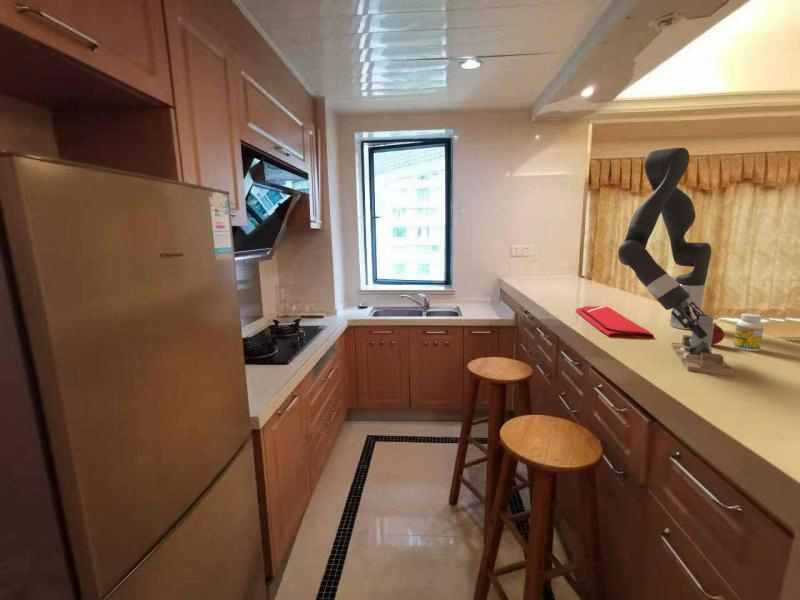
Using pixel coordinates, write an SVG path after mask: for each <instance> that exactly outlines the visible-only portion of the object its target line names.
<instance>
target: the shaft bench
mask: <svg viewBox="0 0 800 600" xmlns="http://www.w3.org/2000/svg"><path fill="white" fill-rule="evenodd" d="M691 337H692V335H691V334H690V335H688V334H682V341H681V342H671V343H670V344H671V345H670V346H671V347H672V350H673V351H674V352H675V354H676V355H677V357H678V358H679V359H680V361H681V362H682V364H683V366H684V367H685V368H686V370H687V371H689V372H694V373H696V372H697V373H703V374H711V375H719V376H720V375H721V376H728V377H735V374H736V373H735V372H736V371H734V370H733V369H732V368H731V367H730V366H729V364H727V363H726V362H725V360H724V356H723V355H722V354H719V353H717V352H716V351H715V350H714V349H713V348H712V347H711V350H710V353H701V354H700V356H697V355H690V354H689V352H690V344H691Z"/></svg>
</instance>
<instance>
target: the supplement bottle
mask: <svg viewBox="0 0 800 600" xmlns="http://www.w3.org/2000/svg"><path fill="white" fill-rule="evenodd" d="M761 321H762V315H760V314H754V313H748V312H747V313H745V312H744V313H741V315H740V320H738V321H737V322H736V325H735V333H734V340H733V347H734V348H735V349H737V350H741V351H745V350H746V351H745V352H758V351H760V349H761V344H762V339H763V331H764V324H763V323H761Z"/></svg>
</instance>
